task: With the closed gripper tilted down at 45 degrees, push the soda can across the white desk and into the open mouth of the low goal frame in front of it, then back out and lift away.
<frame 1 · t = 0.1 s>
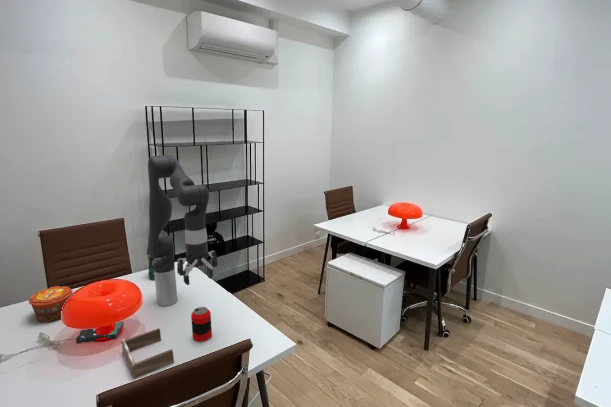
hand: (198, 280, 129), 29 cm above the table, tool pointing down, fingers open, 8 cm apart
soda can: (202, 336, 144), on the table
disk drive: (101, 335, 145), on the table
food container: (54, 315, 158), on the table
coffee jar: (158, 277, 196), on the table
goal frame: (148, 356, 132), on the table
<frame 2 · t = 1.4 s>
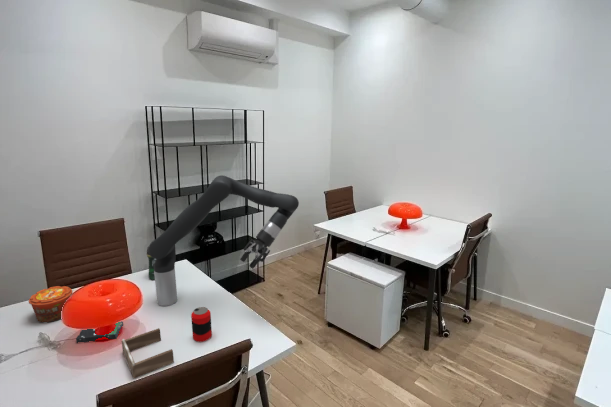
hand: (246, 264, 150), 27 cm above the table, tool tilted 45°, fingers open, 8 cm apart
nothing on the table moved.
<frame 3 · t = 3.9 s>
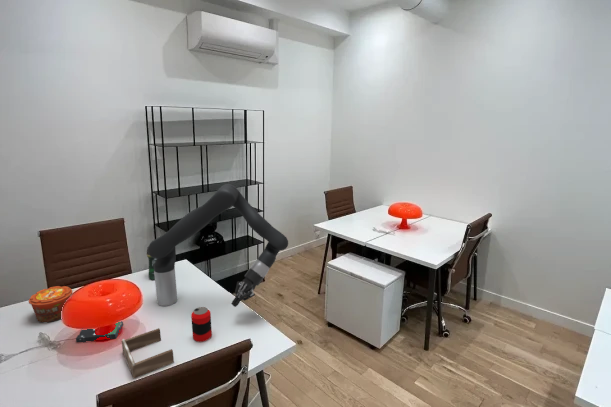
hand: (233, 305, 151), 9 cm above the table, tool tilted 45°, fingers closed
nothing on the table moved.
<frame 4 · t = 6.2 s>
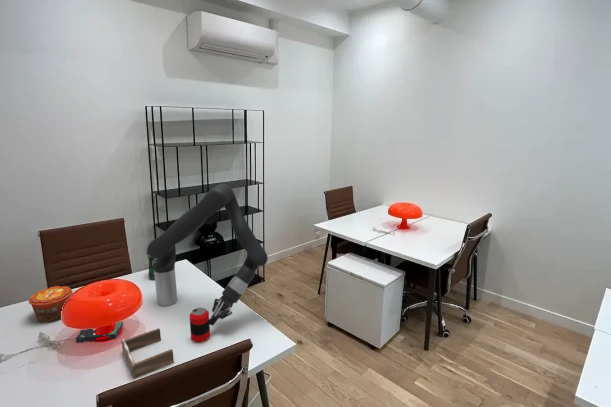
hand: (210, 324, 145), 4 cm above the table, tool tilted 45°, fingers closed
soda can: (200, 337, 144), on the table, touching gripper
everything else where it was.
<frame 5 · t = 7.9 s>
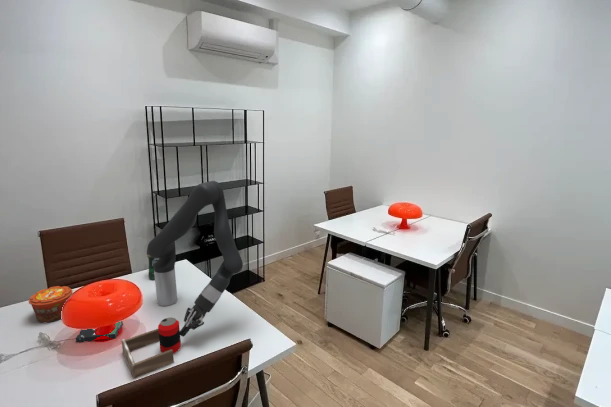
hand: (181, 335, 138), 4 cm above the table, tool tilted 45°, fingers closed
soda can: (170, 349, 136), on the table, touching gripper
everything else where it was.
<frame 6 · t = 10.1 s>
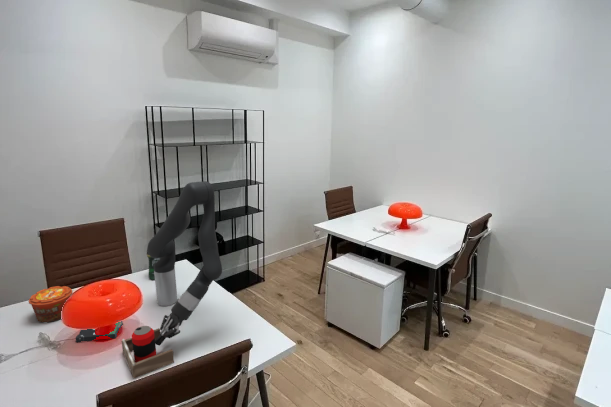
hand: (156, 344, 132), 4 cm above the table, tool tilted 45°, fingers closed
soda can: (145, 358, 131), on the table, touching gripper
everything else where it was.
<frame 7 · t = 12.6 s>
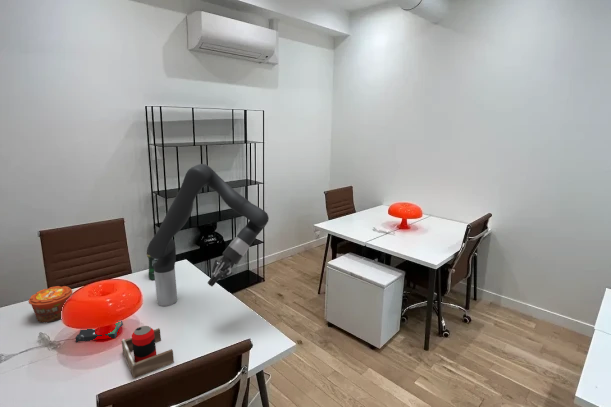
hand: (209, 285, 141), 22 cm above the table, tool tilted 45°, fingers closed
soda can: (145, 358, 131), on the table
everything else where it was.
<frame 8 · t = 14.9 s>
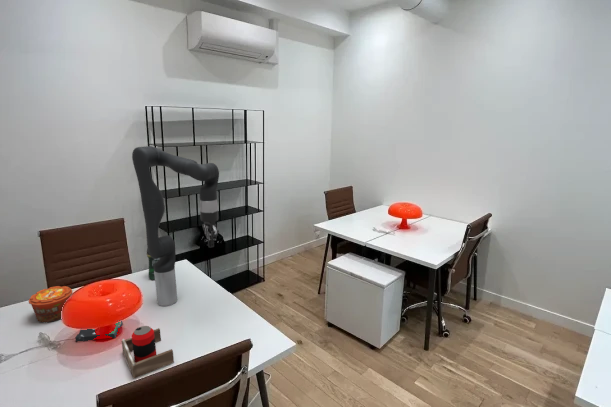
hand: (211, 247, 155), 32 cm above the table, tool pointing down, fingers closed
nothing on the table moved.
at the end: soda can inside the target area on the goal frame (1.4 cm from its centre), point 0.0 cm above the goal frame's base; soda can tilted 0°; soda can moved 22.1 cm from its start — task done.
